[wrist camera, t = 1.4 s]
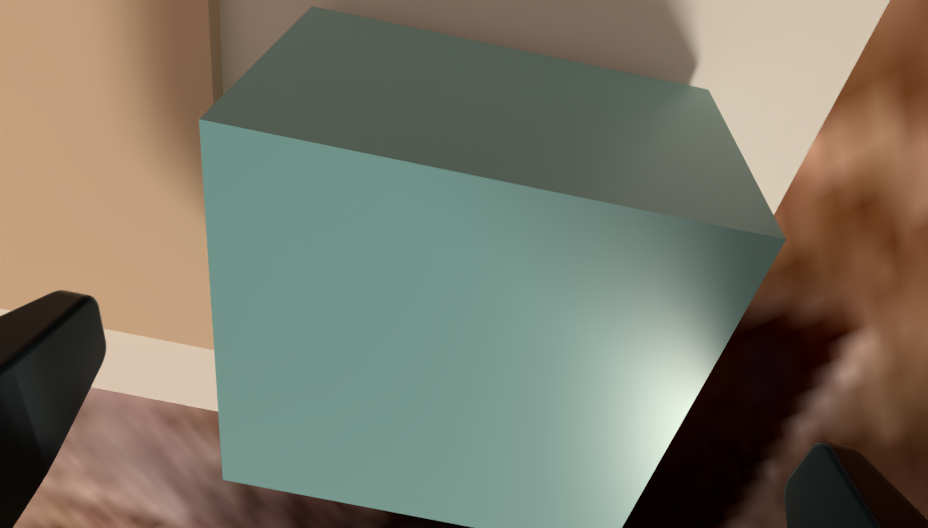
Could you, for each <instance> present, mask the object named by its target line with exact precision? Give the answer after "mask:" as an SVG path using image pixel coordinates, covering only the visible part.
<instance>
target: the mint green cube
mask: <svg viewBox="0 0 928 528" xmlns="http://www.w3.org/2000/svg"><path fill="white" fill-rule="evenodd" d="M199 128H200V143H201V158H202V173H203V189H204V204H205V219H206V234H207V249H208V264H209V279H210V295H211V310H212V325H213V340H214V355H215V370H216V385H217V400H218V416H219V431H220V446H221V461H222V476H223V480H227V481H232V482H237V483H242V484H248V485H253V486H258V487H263V488H269V489H274V490H279V491H284V492H290V493H295V494H300V495H305V496H311V497H316V498H321V499H326V500H332V501H337V502H342V503H347V504H353V505H358V506H363V507H368V508H374V509H379V510H384V511H389V512H395V513H400V514H405V515H410V516H416V517H421V518H426V519H431V520H437V521H442V522H447V523H452V524H458V525H463V526H468V527H473V528H622V527H623V525H624V523H625V522H626V520H627V518H628V516H629V514H630V513H631V511H632V509H633V507H634V506H635V504H636V502H637V500H638V499H639V497H640V495H641V493H642V492H643V490H644V488H645V486H646V485H647V483H648V481H649V479H650V478H651V476H652V474H653V472H654V471H655V469H656V467H657V465H658V464H659V462H660V460H661V458H662V456H663V455H664V453H665V451H666V449H667V448H668V446H669V444H670V442H671V441H672V439H673V437H674V435H675V434H676V432H677V430H678V428H679V427H680V425H681V423H682V421H683V420H684V418H685V416H686V414H687V413H688V411H689V409H690V407H691V406H692V404H693V402H694V400H695V398H696V397H697V395H698V393H699V391H700V390H701V388H702V386H703V384H704V383H705V381H706V379H707V377H708V376H709V374H710V372H711V370H712V369H713V367H714V365H715V363H716V362H717V360H718V358H719V356H720V355H721V353H722V351H723V349H724V348H725V346H726V344H727V342H728V341H729V339H730V337H731V335H732V333H733V332H734V330H735V328H736V326H737V325H738V323H739V321H740V319H741V318H742V316H743V314H744V312H745V311H746V309H747V307H748V305H749V304H750V302H751V300H752V298H753V297H754V295H755V293H756V291H757V290H758V288H759V286H760V284H761V283H762V281H763V279H764V277H765V275H766V274H767V272H768V270H769V268H770V267H771V265H772V263H773V261H774V260H775V258H776V256H777V254H778V253H779V251H780V249H781V247H782V246H783V244H784V242H785V240H786V238H785V237H784V235H783V233H782V231H781V229H780V227H779V225H778V223H777V221H776V219H775V217H774V215H773V213H772V211H771V209H770V208H769V206H768V204H767V202H766V200H765V198H764V196H763V194H762V192H761V190H760V188H759V186H758V184H757V182H756V180H755V179H754V177H753V175H752V173H751V171H750V169H749V167H748V165H747V163H746V161H745V159H744V157H743V155H742V153H741V151H740V150H739V148H738V146H737V144H736V142H735V140H734V138H733V136H732V134H731V132H730V130H729V128H728V126H727V124H726V122H725V121H724V119H723V117H722V115H721V113H720V111H719V109H718V107H717V105H716V103H715V101H714V99H713V97H712V95H711V93H710V92H709V90H708V89H703V88H698V87H693V86H689V85H684V84H679V83H674V82H670V81H665V80H660V79H655V78H651V77H646V76H641V75H636V74H632V73H627V72H622V71H617V70H613V69H608V68H603V67H598V66H594V65H589V64H584V63H579V62H575V61H570V60H565V59H560V58H556V57H551V56H546V55H541V54H537V53H532V52H527V51H522V50H518V49H513V48H508V47H503V46H499V45H494V44H489V43H484V42H479V41H475V40H470V39H465V38H460V37H456V36H451V35H446V34H441V33H437V32H432V31H427V30H422V29H418V28H413V27H408V26H403V25H399V24H394V23H389V22H384V21H380V20H375V19H370V18H365V17H361V16H356V15H351V14H346V13H342V12H337V11H332V10H327V9H323V8H318V7H313V6H311V7H310V8H309V9H308V10H307V11H306V12H305V13H304V14H303V15H302V16H301V17H300V18H299V19H298V20H297V21H296V22H295V23H294V24H293V25H292V26H291V27H290V28H289V29H288V30H287V31H286V32H285V33H284V34H283V35H282V36H281V37H280V38H279V39H278V40H277V41H276V42H275V43H274V44H273V45H272V46H271V47H270V48H269V49H268V50H267V51H266V52H265V53H264V54H263V55H262V56H261V57H260V58H259V59H258V60H257V61H256V62H255V63H254V64H253V65H252V66H251V67H250V68H249V69H248V70H247V71H246V72H245V73H244V74H243V75H242V76H241V77H240V78H239V79H238V80H237V81H236V82H235V83H234V84H233V85H232V86H231V87H230V88H229V89H228V91H227V92H226V93H225V94H224V95H223V96H222V97H221V98H220V99H219V100H218V101H217V102H216V103H215V104H214V105H213V106H212V107H211V108H210V109H209V110H208V111H207V112H206V113H205V114H204V115H203V116H202V117H201V118H200V119H199Z"/></svg>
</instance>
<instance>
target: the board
mask: <svg viewBox="0 0 928 528" xmlns="http://www.w3.org/2000/svg"><path fill="white" fill-rule="evenodd" d="M889 1H890V0H0V316H1V315H3V314H6V313H8V312H10V311H12V310H14V309H17V308H19V307H21V306H23V305H25V304H27V303H30V302H32V301H34V300H36V299H38V298H40V297H43V296H45V295H47V294H49V293H52V292H54V291H58V290H66V291H71V292H76V293H81V294H86V295H90V296H92V297H94V298H95V299H96V301H97V302H98V305H99V309H100V314H101V319H102V324H103V329H104V334H105V339H106V354H105V358H104V361H103V363H102V366H101V368H100V370H99V372H98V374H97V376H96V378H95V380H94V382H93V384H92V386H91V387H94V388H99V389H104V390H109V391H114V392H119V393H125V394H130V395H135V396H140V397H145V398H151V399H156V400H161V401H166V402H171V403H176V404H182V405H187V406H192V407H197V408H202V409H208V410H213V411H218V400H217V385H216V370H215V355H214V340H213V325H212V310H211V295H210V279H209V264H208V249H207V234H206V219H205V204H204V189H203V173H202V158H201V143H200V128H199V119H200V118H201V117H202V116H203V115H204V114H205V113H206V112H207V111H208V110H209V109H210V108H211V107H212V106H213V105H214V104H215V103H216V102H217V101H218V100H219V99H220V98H221V97H222V96H223V95H224V94H225V93H226V92H227V91H228V89H229V88H230V87H231V86H232V85H233V84H234V83H235V82H236V81H237V80H238V79H239V78H240V77H241V76H242V75H243V74H244V73H245V72H246V71H247V70H248V69H249V68H250V67H251V66H252V65H253V64H254V63H255V62H256V61H257V60H258V59H259V58H260V57H261V56H262V55H263V54H264V53H265V52H266V51H267V50H268V49H269V48H270V47H271V46H272V45H273V44H274V43H275V42H276V41H277V40H278V39H279V38H280V37H281V36H282V35H283V34H284V33H285V32H286V31H287V30H288V29H289V28H290V27H291V26H292V25H293V24H294V23H295V22H296V21H297V20H298V19H299V18H300V17H301V16H302V15H303V14H304V13H305V12H306V11H307V10H308V9H309V8H310V7H311V6H313V7H318V8H323V9H327V10H332V11H337V12H342V13H346V14H351V15H356V16H361V17H365V18H370V19H375V20H380V21H384V22H389V23H394V24H399V25H403V26H408V27H413V28H418V29H422V30H427V31H432V32H437V33H441V34H446V35H451V36H456V37H460V38H465V39H470V40H475V41H479V42H484V43H489V44H494V45H499V46H503V47H508V48H513V49H518V50H522V51H527V52H532V53H537V54H541V55H546V56H551V57H556V58H560V59H565V60H570V61H575V62H579V63H584V64H589V65H594V66H598V67H603V68H608V69H613V70H617V71H622V72H627V73H632V74H636V75H641V76H646V77H651V78H655V79H660V80H665V81H670V82H674V83H679V84H684V85H689V86H693V87H698V88H703V89H708V90H709V92H710V93H711V95H712V97H713V99H714V101H715V103H716V105H717V107H718V109H719V111H720V113H721V115H722V117H723V119H724V121H725V122H726V124H727V126H728V128H729V130H730V132H731V134H732V136H733V138H734V140H735V142H736V144H737V146H738V148H739V150H740V151H741V153H742V155H743V157H744V159H745V161H746V163H747V165H748V167H749V169H750V171H751V173H752V175H753V177H754V179H755V180H756V182H757V184H758V186H759V188H760V190H761V192H762V194H763V196H764V198H765V200H766V202H767V204H768V206H769V208H770V209H771V211H772V213H773V215H774V214H775V212H776V210H777V208H778V206H779V204H780V203H781V201H782V199H783V197H784V195H785V193H786V191H787V190H788V188H789V186H790V184H791V182H792V180H793V178H794V177H795V175H796V173H797V171H798V169H799V167H800V166H801V164H802V162H803V160H804V158H805V156H806V154H807V153H808V151H809V149H810V147H811V145H812V143H813V142H814V140H815V138H816V136H817V134H818V132H819V130H820V129H821V127H822V125H823V123H824V121H825V119H826V118H827V116H828V114H829V112H830V110H831V108H832V106H833V105H834V103H835V101H836V99H837V97H838V95H839V93H840V92H841V90H842V88H843V86H844V84H845V82H846V81H847V79H848V77H849V75H850V73H851V71H852V69H853V68H854V66H855V64H856V62H857V60H858V58H859V57H860V55H861V53H862V51H863V49H864V47H865V45H866V44H867V42H868V40H869V38H870V36H871V34H872V33H873V31H874V29H875V27H876V25H877V23H878V21H879V20H880V18H881V16H882V14H883V12H884V10H885V8H886V7H887V5H888V3H889Z"/></svg>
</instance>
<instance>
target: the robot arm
mask: <svg viewBox="0 0 928 528" xmlns="http://www.w3.org/2000/svg"><path fill="white" fill-rule="evenodd" d="M105 354H106V339H105V334H104V329H103V324H102V319H101V314H100V309H99V305H98V302H97V301H96V299H95V298H94V297H92V296H90V295H86V294H81V293H76V292H71V291H66V290H58V291H54V292H52V293H49V294H47V295H45V296H43V297H40V298H38V299H36V300H34V301H32V302H30V303H27V304H25V305H23V306H21V307H19V308H17V309H14V310H12V311H10V312H8V313H6V314H3V315H1V316H0V528H13V527H14V525H15V523H16V522H17V520H18V519H19V517H20V516H21V514H22V513H23V511H24V509H25V508H26V506H27V505H28V503H29V502H30V500H31V499H32V497H33V495H34V494H35V492H36V491H37V489H38V487H39V486H40V484H41V483H42V481H43V479H44V478H45V476H46V474H47V473H48V471H49V469H50V467H51V465H52V463H53V461H54V460H55V458H56V456H57V454H58V452H59V450H60V448H61V446H62V444H63V442H64V440H65V438H66V436H67V434H68V432H69V430H70V428H71V426H72V424H73V422H74V420H75V418H76V416H77V414H78V412H79V410H80V408H81V406H82V404H83V402H84V400H85V398H86V396H87V394H88V392H89V390H90V388H91V386H92V384H93V382H94V380H95V378H96V376H97V374H98V372H99V370H100V368H101V366H102V363H103V361H104V358H105ZM784 501H785V510H786V519H787V528H928V520H927V519H926V518H925V517H924V516H923V515H922V514H921V513H920V512H919V511H918V510H917V509H916V508H915V507H914V506H913V505H912V504H911V503H910V502H909V501H908V500H907V499H906V498H905V497H904V496H903V495H902V494H901V493H900V492H899V491H898V490H897V489H896V488H895V487H894V486H893V485H892V484H891V483H890V482H889V481H888V480H887V479H886V478H885V477H884V476H883V475H882V474H881V473H880V472H879V471H878V470H877V469H876V468H875V467H874V466H873V465H872V464H871V463H870V462H869V461H868V460H867V459H866V458H865V457H864V456H863V455H862V454H861V453H860V452H859V451H858V450H856V449H855V448H853V447H850V446H847V445H842V444H837V443H832V442H827V441H821V442H819V443H816V444H815V445H814V446H813V447H812V448H811V449H810V450H809V452H808V453H807V454H806V455H805V457H804V458H803V459H802V461H801V462H800V463H799V465H798V466H797V467H796V468H795V470H794V471H793V472H792V474H791V475H790V476H789V478H788V480H787V482H786V485H785V490H784Z"/></svg>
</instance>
